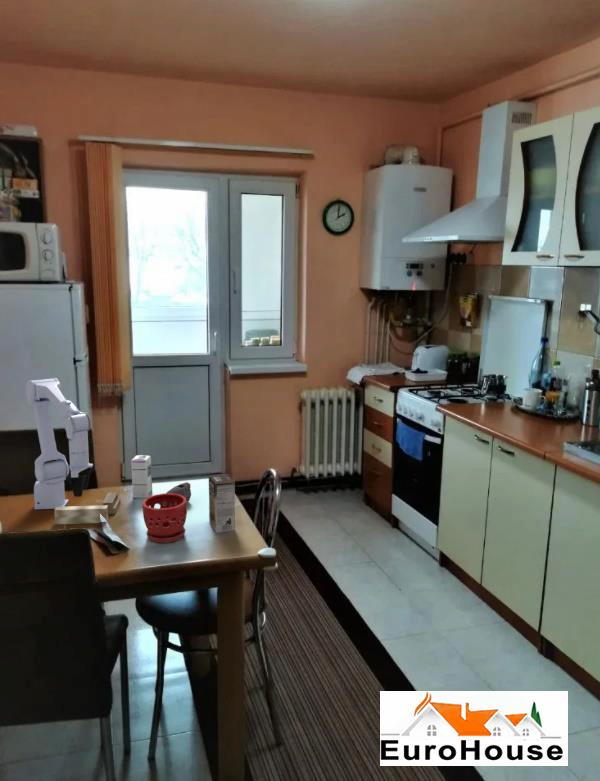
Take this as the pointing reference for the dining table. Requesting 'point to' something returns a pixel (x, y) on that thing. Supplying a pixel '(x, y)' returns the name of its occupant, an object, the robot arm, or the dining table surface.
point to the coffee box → (221, 503)
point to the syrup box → (141, 476)
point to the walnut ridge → (112, 502)
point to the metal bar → (80, 514)
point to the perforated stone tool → (181, 491)
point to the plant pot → (165, 517)
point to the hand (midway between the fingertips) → (80, 492)
